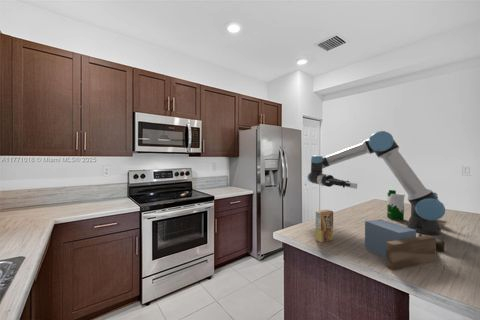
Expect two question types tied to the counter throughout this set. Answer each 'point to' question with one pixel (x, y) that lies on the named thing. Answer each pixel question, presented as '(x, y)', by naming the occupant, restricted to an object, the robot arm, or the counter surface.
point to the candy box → (324, 225)
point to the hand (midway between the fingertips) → (356, 186)
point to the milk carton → (395, 205)
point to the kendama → (439, 244)
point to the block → (384, 235)
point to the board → (410, 252)
